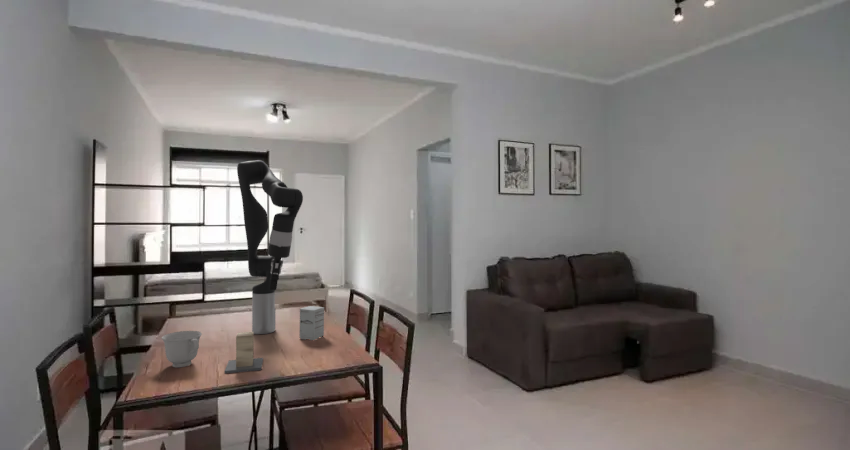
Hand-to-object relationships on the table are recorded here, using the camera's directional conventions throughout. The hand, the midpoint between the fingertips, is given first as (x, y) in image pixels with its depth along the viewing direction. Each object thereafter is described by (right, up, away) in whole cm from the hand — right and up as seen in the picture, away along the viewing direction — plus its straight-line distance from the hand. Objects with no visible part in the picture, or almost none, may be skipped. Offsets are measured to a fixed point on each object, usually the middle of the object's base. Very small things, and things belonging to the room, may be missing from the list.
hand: (273, 286), depth 160 cm
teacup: (-26, -25, -12) cm, 38 cm away
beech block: (-5, -24, -12) cm, 28 cm away
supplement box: (+8, -25, +24) cm, 35 cm away
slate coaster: (-5, -25, -12) cm, 29 cm away
